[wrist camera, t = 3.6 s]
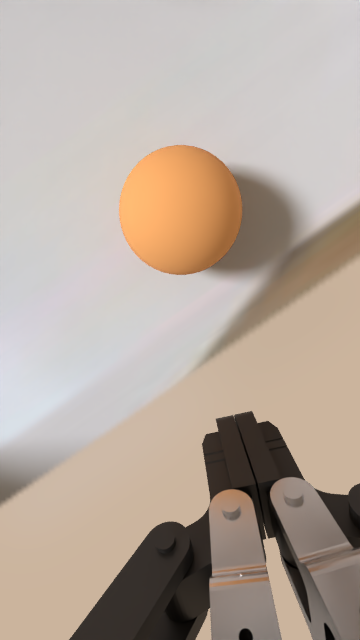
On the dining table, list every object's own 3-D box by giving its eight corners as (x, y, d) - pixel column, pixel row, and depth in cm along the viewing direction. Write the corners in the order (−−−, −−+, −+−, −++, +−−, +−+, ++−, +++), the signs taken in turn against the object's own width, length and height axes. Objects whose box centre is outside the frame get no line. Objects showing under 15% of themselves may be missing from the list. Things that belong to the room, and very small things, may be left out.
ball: (236, 254, 20) (265, 269, 14) (140, 275, 20) (130, 297, 14) (219, 147, 18) (246, 113, 12) (114, 170, 18) (92, 147, 12)
